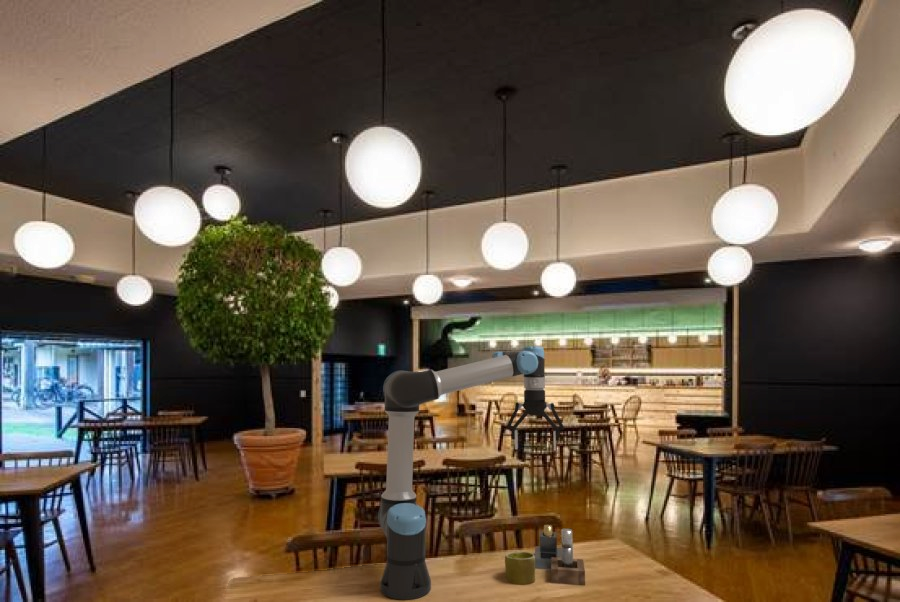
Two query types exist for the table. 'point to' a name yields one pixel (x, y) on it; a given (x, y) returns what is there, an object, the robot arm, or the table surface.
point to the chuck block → (546, 551)
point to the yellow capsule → (547, 530)
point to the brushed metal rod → (567, 548)
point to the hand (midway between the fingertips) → (535, 449)
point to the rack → (567, 572)
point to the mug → (520, 567)
